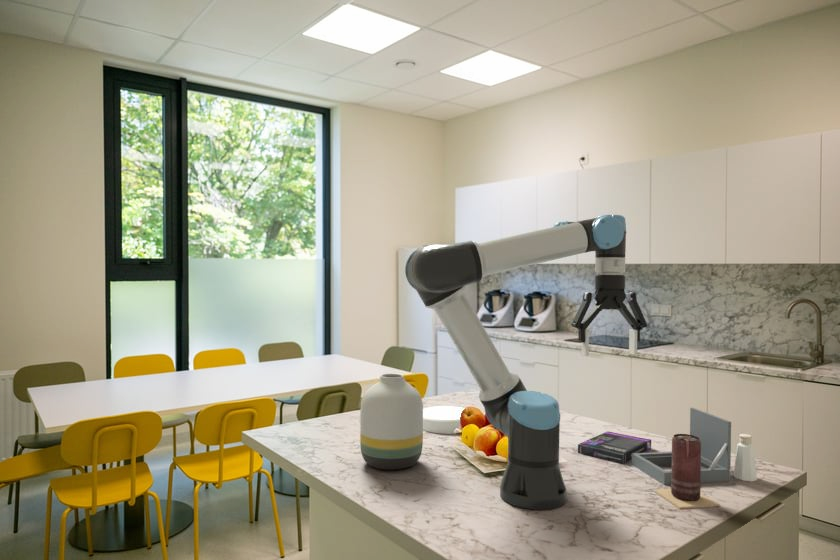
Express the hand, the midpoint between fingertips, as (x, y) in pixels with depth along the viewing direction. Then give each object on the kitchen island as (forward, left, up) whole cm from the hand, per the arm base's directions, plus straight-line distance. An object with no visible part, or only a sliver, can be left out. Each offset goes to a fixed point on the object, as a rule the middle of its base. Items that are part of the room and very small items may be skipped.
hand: (609, 354), depth 148 cm
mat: (+9, -20, -31) cm, 38 cm away
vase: (-56, +13, -31) cm, 65 cm away
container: (-33, +49, -31) cm, 67 cm away
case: (+18, -4, -31) cm, 36 cm away
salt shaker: (+33, -10, -31) cm, 46 cm away
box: (+10, +15, -31) cm, 37 cm away
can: (+9, -20, -30) cm, 38 cm away
